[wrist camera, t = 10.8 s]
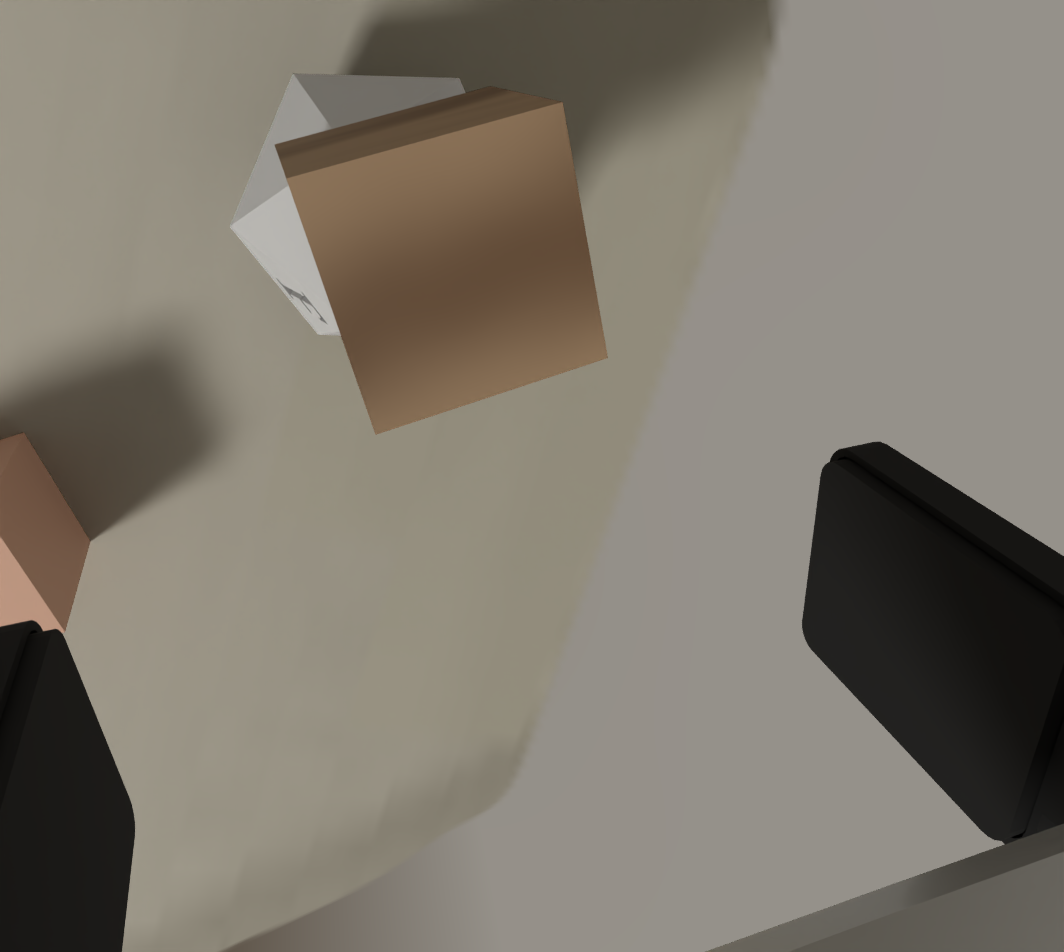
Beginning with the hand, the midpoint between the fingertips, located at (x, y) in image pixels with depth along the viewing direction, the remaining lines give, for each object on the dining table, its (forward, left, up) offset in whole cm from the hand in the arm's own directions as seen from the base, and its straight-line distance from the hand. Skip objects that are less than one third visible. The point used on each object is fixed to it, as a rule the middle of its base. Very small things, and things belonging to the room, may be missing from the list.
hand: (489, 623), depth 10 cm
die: (-1, +2, -24) cm, 24 cm away
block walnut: (-1, +2, -16) cm, 17 cm away
